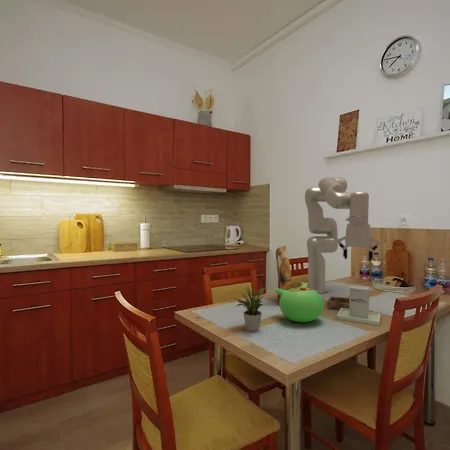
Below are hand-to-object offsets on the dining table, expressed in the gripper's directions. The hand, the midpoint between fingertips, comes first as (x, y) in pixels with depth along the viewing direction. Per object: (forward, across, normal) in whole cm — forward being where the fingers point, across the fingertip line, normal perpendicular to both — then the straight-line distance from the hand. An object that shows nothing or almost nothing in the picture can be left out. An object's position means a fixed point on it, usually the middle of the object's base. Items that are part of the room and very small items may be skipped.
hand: (357, 259), depth 133 cm
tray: (+24, +2, -5) cm, 25 cm away
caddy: (+24, -8, +7) cm, 27 cm away
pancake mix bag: (+25, -34, +4) cm, 42 cm away
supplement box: (+24, +2, -5) cm, 24 cm away
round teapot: (+24, -19, -20) cm, 37 cm away
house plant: (+24, -33, -37) cm, 55 cm away
